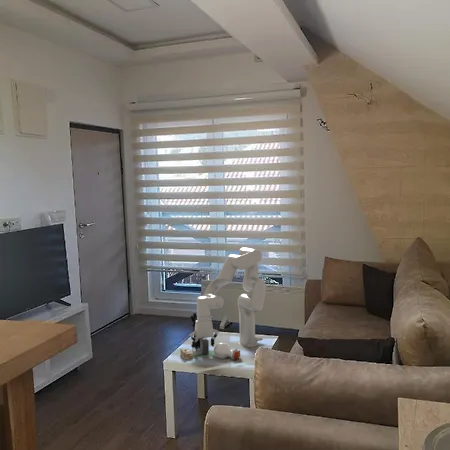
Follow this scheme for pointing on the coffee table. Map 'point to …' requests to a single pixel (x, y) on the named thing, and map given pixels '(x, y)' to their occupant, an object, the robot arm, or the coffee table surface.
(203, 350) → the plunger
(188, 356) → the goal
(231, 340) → the coffee table surface
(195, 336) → the chess piece
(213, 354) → the felt board
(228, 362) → the coffee table surface
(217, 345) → the potion bottle
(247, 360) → the coffee table surface
